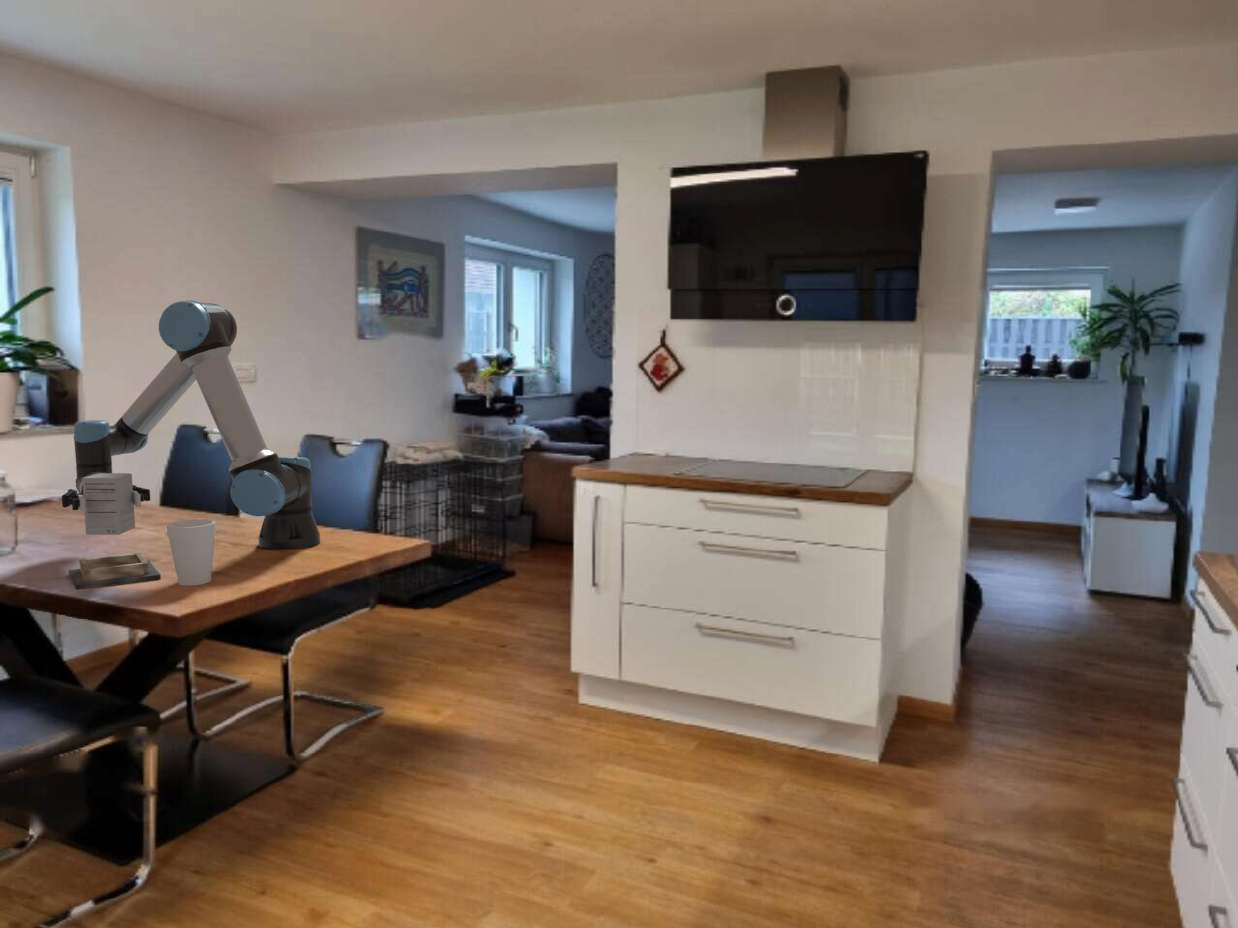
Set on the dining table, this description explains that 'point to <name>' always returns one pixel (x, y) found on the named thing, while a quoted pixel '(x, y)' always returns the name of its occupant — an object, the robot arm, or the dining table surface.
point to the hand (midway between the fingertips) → (111, 503)
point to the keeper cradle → (113, 571)
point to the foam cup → (192, 550)
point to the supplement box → (108, 503)
